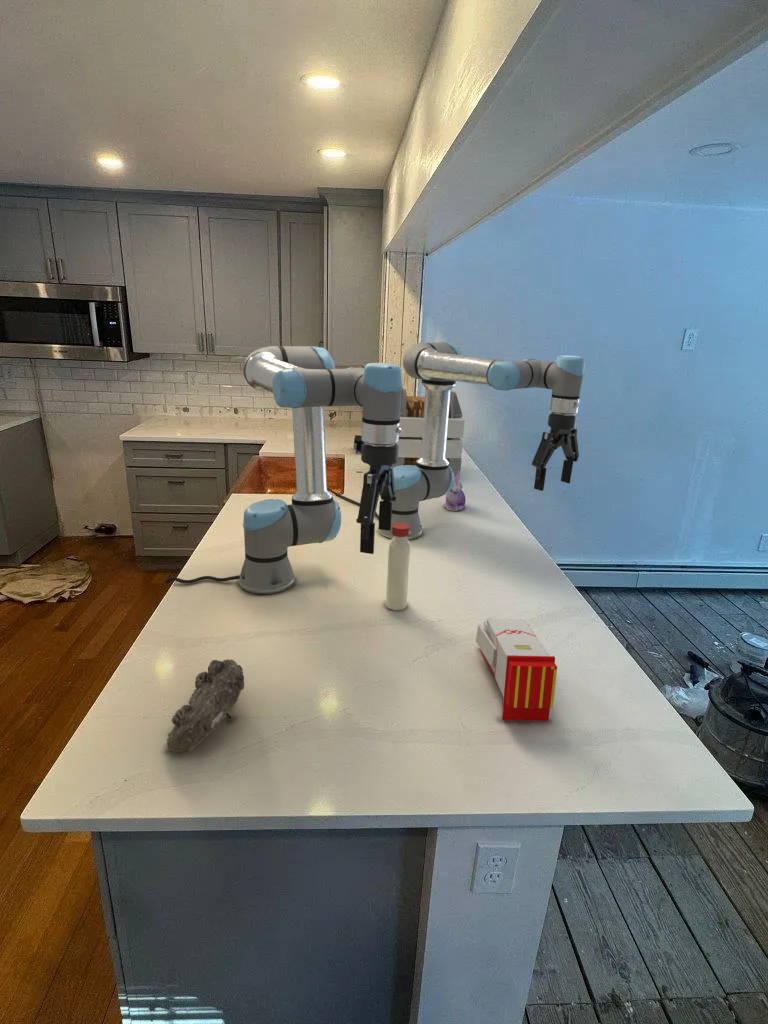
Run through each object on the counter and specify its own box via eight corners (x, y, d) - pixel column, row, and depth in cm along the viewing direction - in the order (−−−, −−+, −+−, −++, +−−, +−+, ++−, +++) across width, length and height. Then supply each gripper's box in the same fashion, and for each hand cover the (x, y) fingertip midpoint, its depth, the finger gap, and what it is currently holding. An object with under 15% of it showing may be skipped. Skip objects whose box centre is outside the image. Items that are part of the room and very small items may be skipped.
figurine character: (365, 456, 306) (365, 447, 319) (365, 443, 302) (366, 434, 316) (353, 456, 306) (353, 446, 319) (353, 442, 302) (354, 433, 316)
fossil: (192, 660, 117) (244, 628, 112) (224, 691, 120) (276, 661, 115) (142, 746, 98) (202, 712, 93) (182, 779, 101) (242, 748, 96)
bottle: (406, 600, 155) (411, 523, 147) (406, 610, 149) (411, 531, 142) (385, 599, 155) (389, 522, 147) (385, 609, 149) (389, 530, 142)
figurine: (452, 513, 222) (455, 476, 217) (438, 505, 231) (441, 469, 226) (471, 510, 227) (475, 474, 221) (457, 502, 235) (460, 467, 230)
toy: (523, 604, 135) (566, 662, 106) (518, 656, 138) (559, 727, 109) (472, 603, 135) (501, 661, 105) (468, 655, 138) (496, 726, 108)
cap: (408, 531, 147) (408, 523, 146) (408, 537, 143) (409, 529, 142) (391, 530, 147) (392, 522, 146) (391, 536, 143) (392, 528, 142)
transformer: (382, 463, 289) (386, 382, 275) (445, 464, 293) (451, 384, 279) (390, 482, 257) (394, 392, 243) (460, 483, 261) (468, 394, 247)
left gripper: (381, 459, 102) (376, 566, 109) (412, 433, 124) (406, 523, 132) (341, 454, 103) (340, 560, 111) (379, 429, 126) (375, 519, 133)
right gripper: (548, 419, 148) (537, 496, 155) (598, 411, 163) (586, 482, 171) (525, 414, 153) (515, 489, 160) (575, 407, 169) (564, 476, 176)
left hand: (376, 540), depth 121 cm, fingers open, 13 cm apart
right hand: (552, 485), depth 166 cm, fingers open, 13 cm apart
